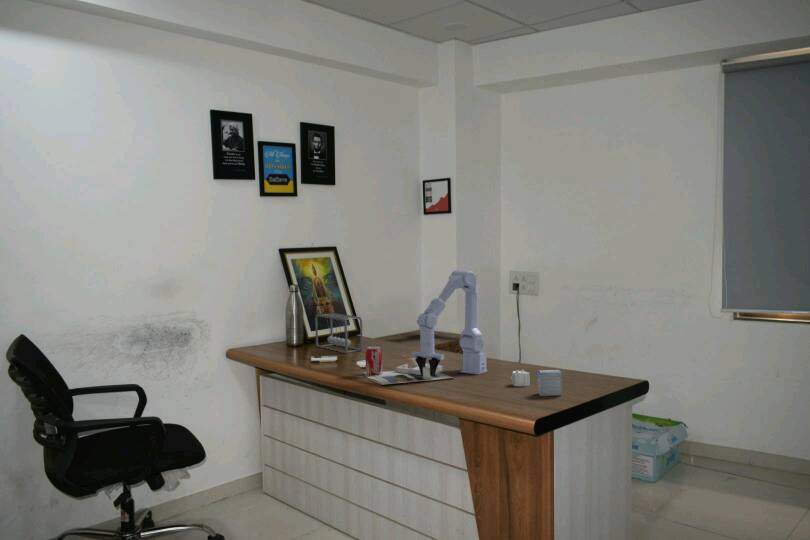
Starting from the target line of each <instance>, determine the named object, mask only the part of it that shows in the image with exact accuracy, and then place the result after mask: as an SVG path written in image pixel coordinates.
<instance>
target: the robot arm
mask: <svg viewBox="0 0 810 540" xmlns="http://www.w3.org/2000/svg"><path fill="white" fill-rule="evenodd" d="M477 277H478V276H477V275H476V274H475V272H473V271H472V270H459V269H455V270H453V271H452V272H451V273H450V275H449V276H448V281H447V283H446V284H445V286H444V288H443V289H442V291H441V293H440V294H439V296H438V297H437V298H433V299H431V300H430V304H429V305H428V307H427V308H426V309H425V310H424V312H422V313H421V314H419V316H418V318H417V319H416V323H417V325H418V326H419V327H418V328H419V331H420V334H419V335H420V339H419V340H420V341H419V342H420V343H419V344H420V351H412V352H411V358H416V359H415V361H416V362H417V364H418V366H419V369H420V373H421V375H420V376H423V367H425V366H426V364H427V360H428V364H430V375H431V377H433V378H434V377H435V376H436V369H437V366H438V365H439V364H440V362H441V361H443V360H444V359H445V354H443V353H442V354H441V353H437V352H435V349H436V347H435V327H436V326H437V324H438V319H439V316H440V315H441V313H442V312H443V311H444V310H445V308H446V302H447V301H448V299H449V298H450V297H451V296H452V294H453V293H454V292H455V291H456V290H457V289H461V290H463V291H464V292H465V296H464V297H465V298H464V299H465V303H464V304H465V306H464V329H463V330H462V331H461V333H460V338H459V346H460V348H461V349H462V350H461V351H462V353H463V354H462V355H463V358H462V359H463V360H462V361H463V363H462V364H463V366H462V367H463V369H462V370H460V371H459V373H462V374H463V373H465V374H471V375H481V374H484V373H487V372H488V369H487V354H486V353H485V352H482V350H483V348H484V346H485V345H484V344H485V341H484V339H483V333H482V332H481V331H480V330H479V285H478V282H477V279H478V278H477Z"/></svg>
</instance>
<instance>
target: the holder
mask: <svg viewBox="0 0 810 540" xmlns="http://www.w3.org/2000/svg"><path fill="white" fill-rule="evenodd" d="M427 366H429V367H430V364H429V363H426V366H425V367H427ZM442 371H444V365H439V364H438V366H437V369H436V373H439V372H440V373H441V372H442ZM395 373H403V374H411V375H416V376H417V375H418V376H422V375H421V373H420V369H419V366H418V364H417V367H415V368H412V369H410V368H408V365H407V363H405V364H402V365H399V366H396V367H395ZM436 373H435V374H436Z"/></svg>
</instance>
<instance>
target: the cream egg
mask: <svg viewBox="0 0 810 540" xmlns="http://www.w3.org/2000/svg"><path fill="white" fill-rule="evenodd" d="M422 379H423V380H432V379H434V376H433V377H431V375H430V367H429V366H427V367H423V375H422Z"/></svg>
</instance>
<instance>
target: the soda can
mask: <svg viewBox="0 0 810 540" xmlns="http://www.w3.org/2000/svg"><path fill="white" fill-rule="evenodd" d="M365 372H366V375H367V376H373V377H374V376H375V375H377V376H381V375H382V374H383V351H382V349H381V346H377V345H376V346H375V345H374V346H373V345H372V346H371V345H370V346H367V347H366V350H365ZM375 377H376V376H375Z"/></svg>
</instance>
